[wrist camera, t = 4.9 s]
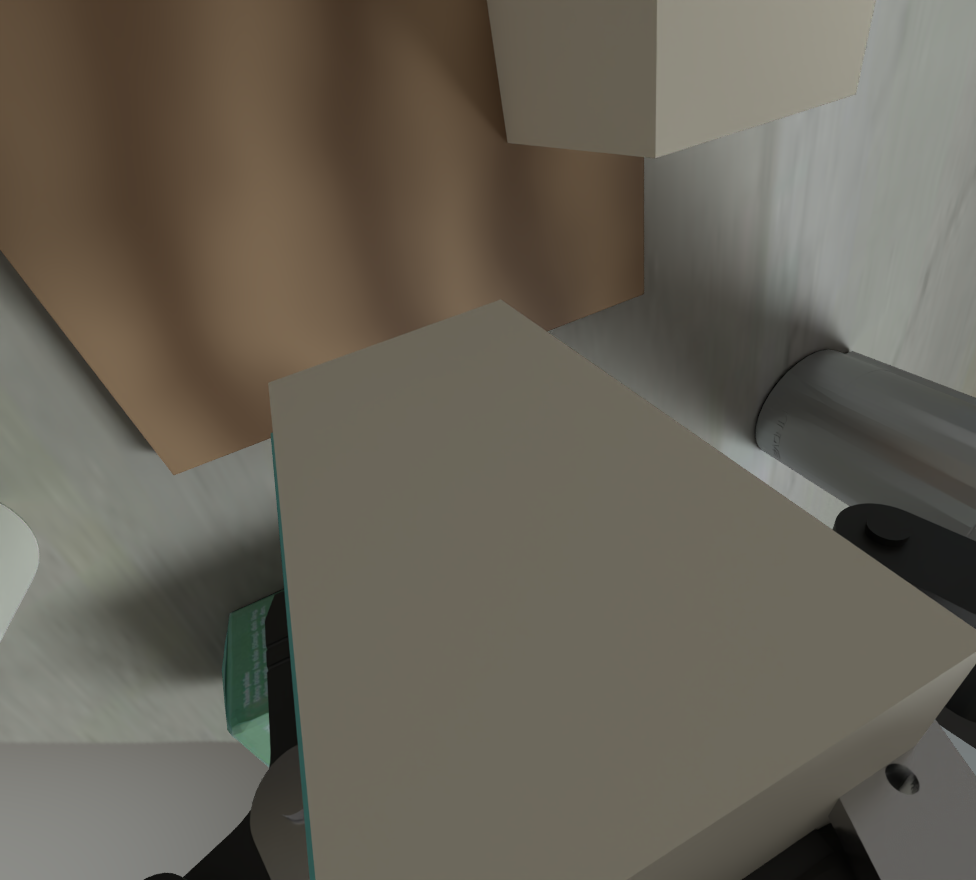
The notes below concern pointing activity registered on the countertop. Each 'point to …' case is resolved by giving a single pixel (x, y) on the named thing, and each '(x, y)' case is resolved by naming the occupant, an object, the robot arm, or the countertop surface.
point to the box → (248, 678)
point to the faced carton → (668, 68)
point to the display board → (282, 195)
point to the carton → (568, 625)
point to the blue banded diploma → (15, 564)
